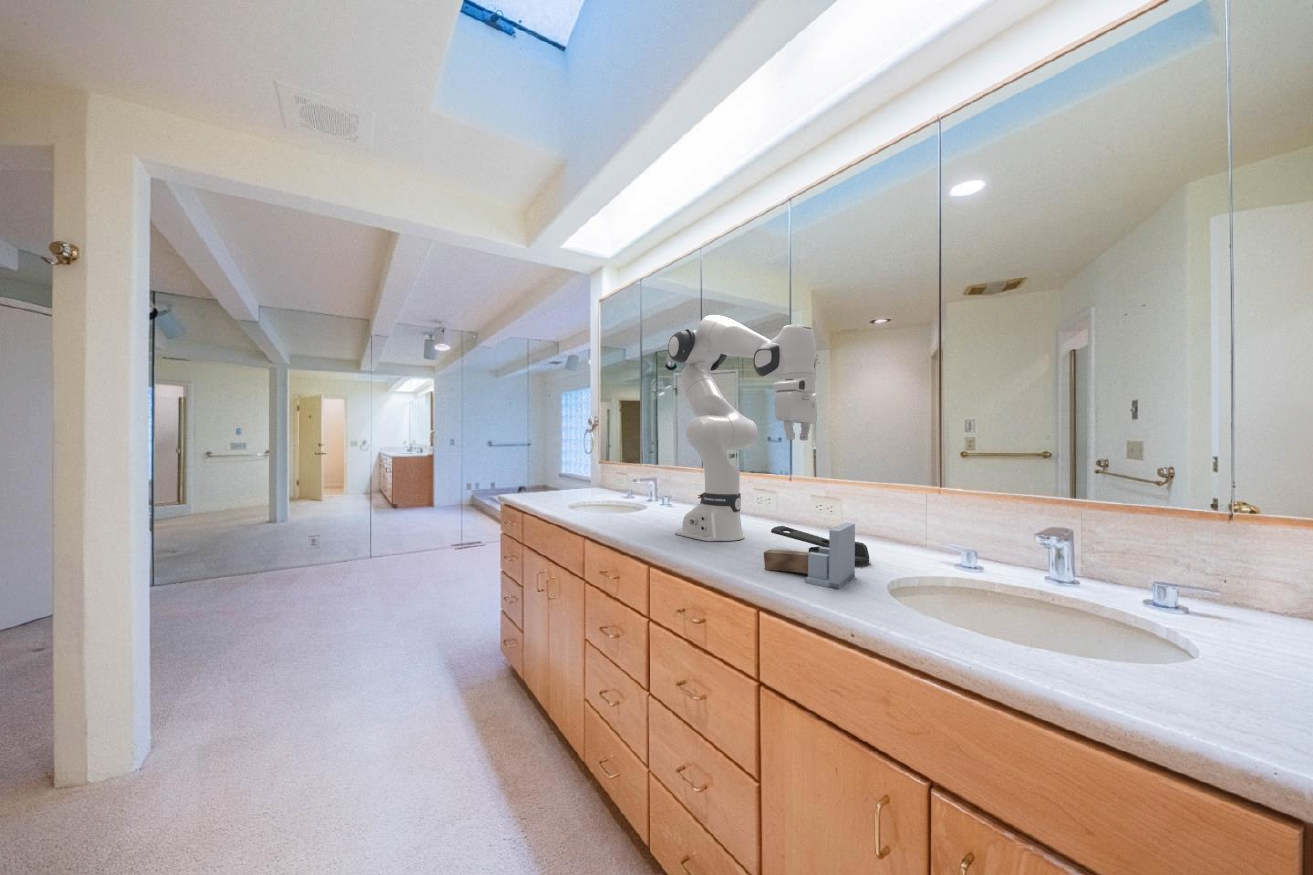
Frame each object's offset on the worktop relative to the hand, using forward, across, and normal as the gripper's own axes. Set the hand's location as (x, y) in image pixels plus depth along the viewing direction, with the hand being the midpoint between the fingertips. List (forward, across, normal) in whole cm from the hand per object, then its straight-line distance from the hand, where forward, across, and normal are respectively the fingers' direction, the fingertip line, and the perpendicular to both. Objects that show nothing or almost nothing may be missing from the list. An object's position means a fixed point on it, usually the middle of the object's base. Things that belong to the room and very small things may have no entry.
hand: (797, 440), depth 118 cm
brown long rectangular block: (+30, +11, +4) cm, 33 cm away
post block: (+31, +11, +12) cm, 35 cm away
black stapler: (+32, -8, +3) cm, 33 cm away
